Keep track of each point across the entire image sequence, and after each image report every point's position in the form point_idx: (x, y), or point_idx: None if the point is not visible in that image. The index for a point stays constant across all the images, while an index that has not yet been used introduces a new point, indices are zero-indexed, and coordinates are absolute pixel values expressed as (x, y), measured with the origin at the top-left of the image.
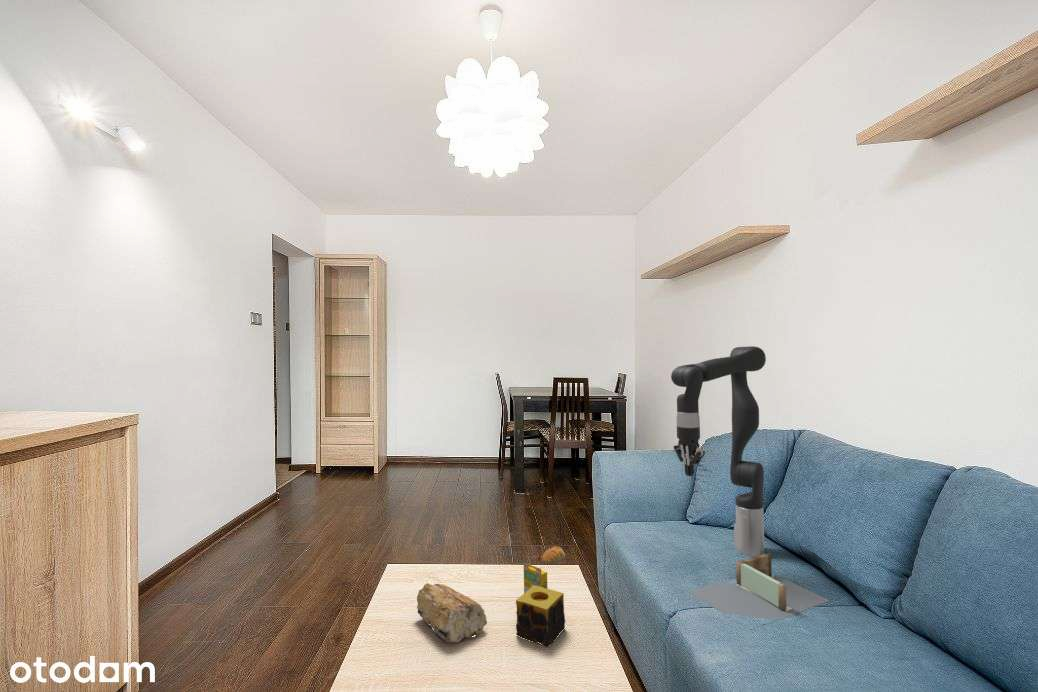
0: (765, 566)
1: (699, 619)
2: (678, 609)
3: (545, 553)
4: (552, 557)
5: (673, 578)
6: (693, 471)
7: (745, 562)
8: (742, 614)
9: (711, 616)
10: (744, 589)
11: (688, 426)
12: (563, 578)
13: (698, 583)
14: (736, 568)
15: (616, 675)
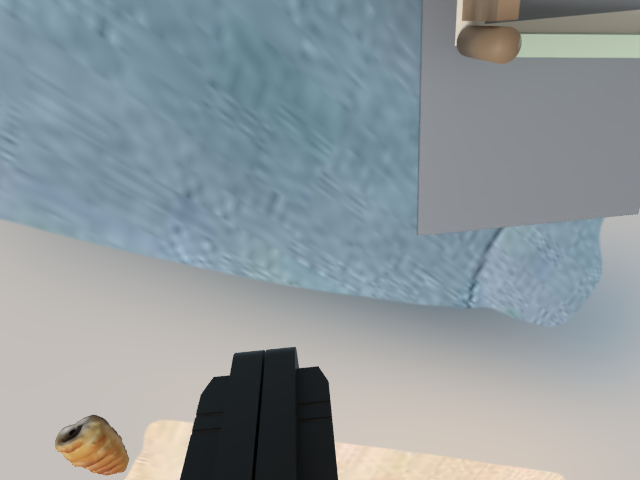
0: None
1: (526, 283)
2: (465, 299)
3: (95, 471)
4: (118, 459)
5: (323, 217)
6: (329, 407)
7: (515, 19)
8: (586, 180)
9: (534, 250)
10: None
11: None
12: None
13: (384, 167)
14: (484, 60)
15: (555, 473)
